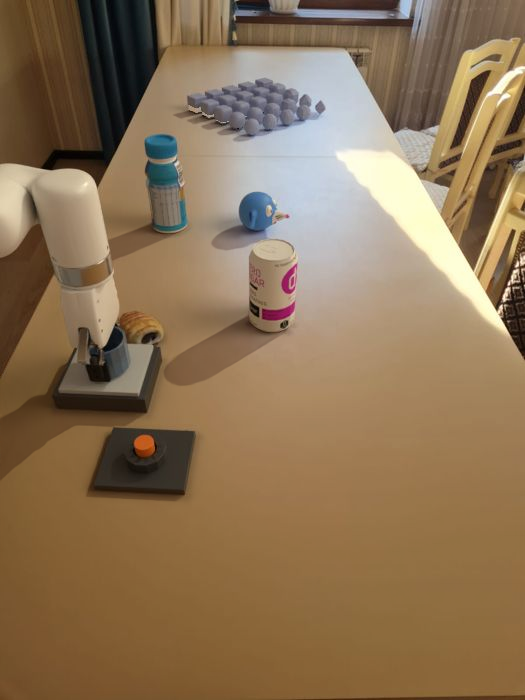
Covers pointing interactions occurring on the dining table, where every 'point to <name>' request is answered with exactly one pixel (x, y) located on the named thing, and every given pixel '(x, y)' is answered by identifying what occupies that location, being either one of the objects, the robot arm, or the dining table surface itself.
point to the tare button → (144, 446)
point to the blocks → (254, 105)
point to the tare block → (146, 462)
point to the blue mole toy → (259, 211)
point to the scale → (111, 384)
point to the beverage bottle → (165, 184)
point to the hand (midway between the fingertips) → (107, 362)
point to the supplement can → (272, 284)
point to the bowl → (115, 352)
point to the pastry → (141, 328)
